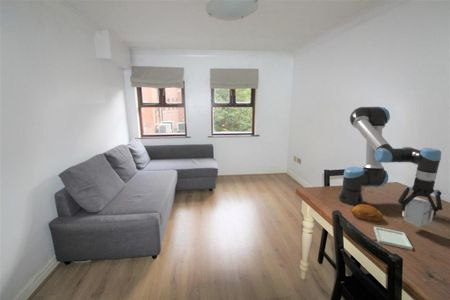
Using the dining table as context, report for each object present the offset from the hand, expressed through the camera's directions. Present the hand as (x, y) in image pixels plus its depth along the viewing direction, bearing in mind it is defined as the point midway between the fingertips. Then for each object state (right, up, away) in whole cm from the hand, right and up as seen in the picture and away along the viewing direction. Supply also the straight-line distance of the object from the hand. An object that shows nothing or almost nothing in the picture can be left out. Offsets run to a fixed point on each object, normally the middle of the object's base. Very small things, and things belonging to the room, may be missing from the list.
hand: (416, 218), depth 114 cm
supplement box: (0, -2, +1) cm, 3 cm away
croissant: (-16, -4, +16) cm, 23 cm away
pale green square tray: (-18, -8, -6) cm, 20 cm away
